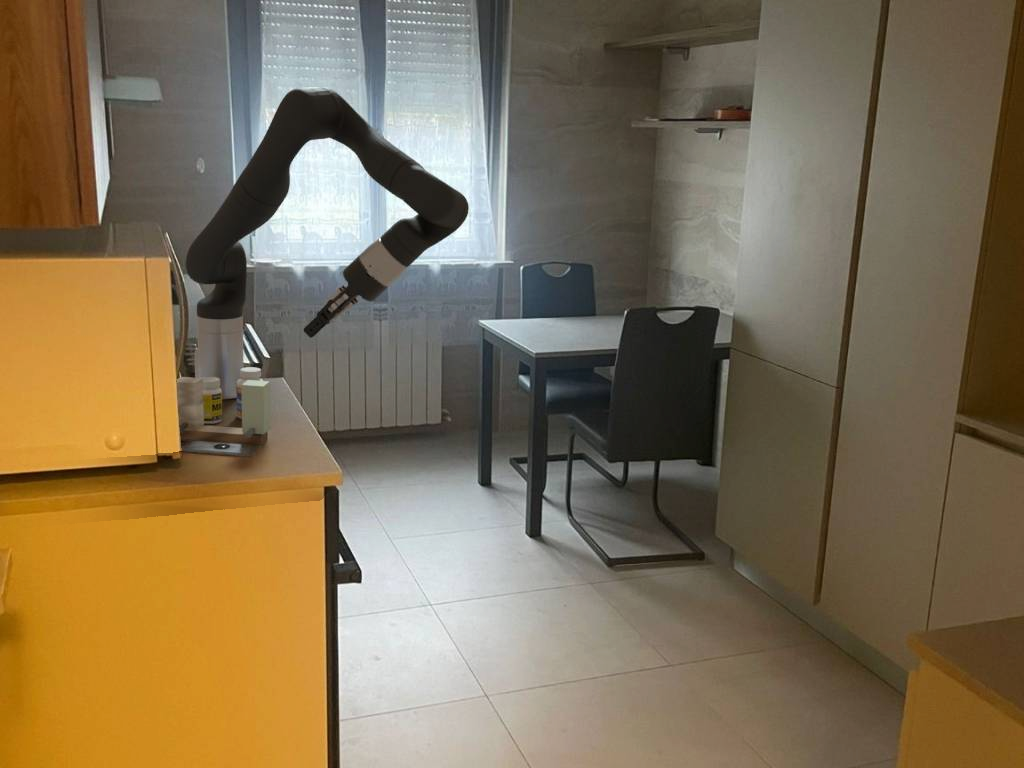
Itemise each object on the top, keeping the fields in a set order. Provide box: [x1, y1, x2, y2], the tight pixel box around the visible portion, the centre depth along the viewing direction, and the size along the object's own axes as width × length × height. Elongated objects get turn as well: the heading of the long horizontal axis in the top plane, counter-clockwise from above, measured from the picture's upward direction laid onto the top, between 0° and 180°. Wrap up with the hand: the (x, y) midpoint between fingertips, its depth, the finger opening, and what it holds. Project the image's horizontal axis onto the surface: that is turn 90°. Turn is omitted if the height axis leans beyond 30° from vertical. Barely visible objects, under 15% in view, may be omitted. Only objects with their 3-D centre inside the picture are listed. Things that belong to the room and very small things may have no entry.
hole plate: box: [181, 439, 261, 458], centre depth 171 cm, size 16×5×1 cm, turn 86°
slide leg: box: [241, 380, 271, 438], centre depth 173 cm, size 4×7×9 cm, turn 176°
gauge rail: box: [176, 376, 268, 447], centre depth 174 cm, size 16×7×11 cm, turn 86°
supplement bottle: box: [203, 377, 223, 425], centre depth 187 cm, size 5×5×8 cm
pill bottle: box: [236, 366, 264, 420], centre depth 191 cm, size 5×5×10 cm
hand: (307, 333), depth 173 cm, fingers closed
